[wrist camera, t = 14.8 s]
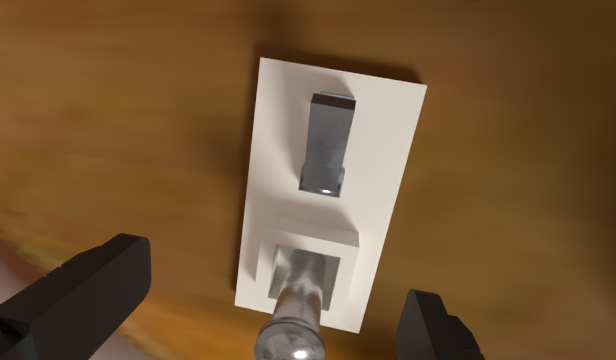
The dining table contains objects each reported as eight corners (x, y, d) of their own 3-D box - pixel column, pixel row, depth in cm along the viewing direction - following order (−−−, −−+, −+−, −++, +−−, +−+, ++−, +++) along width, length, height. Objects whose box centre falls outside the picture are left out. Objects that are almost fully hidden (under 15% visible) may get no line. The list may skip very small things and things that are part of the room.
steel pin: (335, 246, 33) (331, 336, 21) (326, 286, 34) (317, 388, 23) (287, 236, 33) (258, 319, 22) (281, 276, 35) (250, 373, 23)
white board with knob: (423, 85, 28) (436, 86, 24) (358, 323, 37) (359, 355, 33) (264, 58, 29) (250, 54, 25) (239, 297, 38) (225, 324, 34)
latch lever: (360, 100, 21) (359, 112, 20) (339, 189, 28) (337, 201, 28) (309, 91, 21) (305, 102, 20) (301, 181, 29) (298, 193, 28)
